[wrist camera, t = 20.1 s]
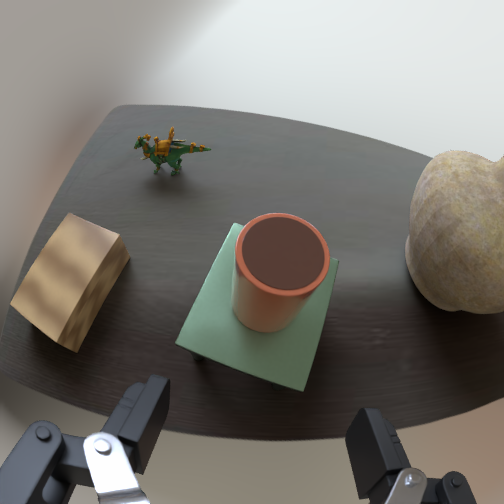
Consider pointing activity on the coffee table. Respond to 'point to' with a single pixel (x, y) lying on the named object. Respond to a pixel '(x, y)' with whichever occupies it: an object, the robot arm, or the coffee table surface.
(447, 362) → the coffee table surface
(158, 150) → the figurine
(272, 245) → the cup
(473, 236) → the vase
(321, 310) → the green miniature table
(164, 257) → the coffee table surface
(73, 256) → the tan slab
